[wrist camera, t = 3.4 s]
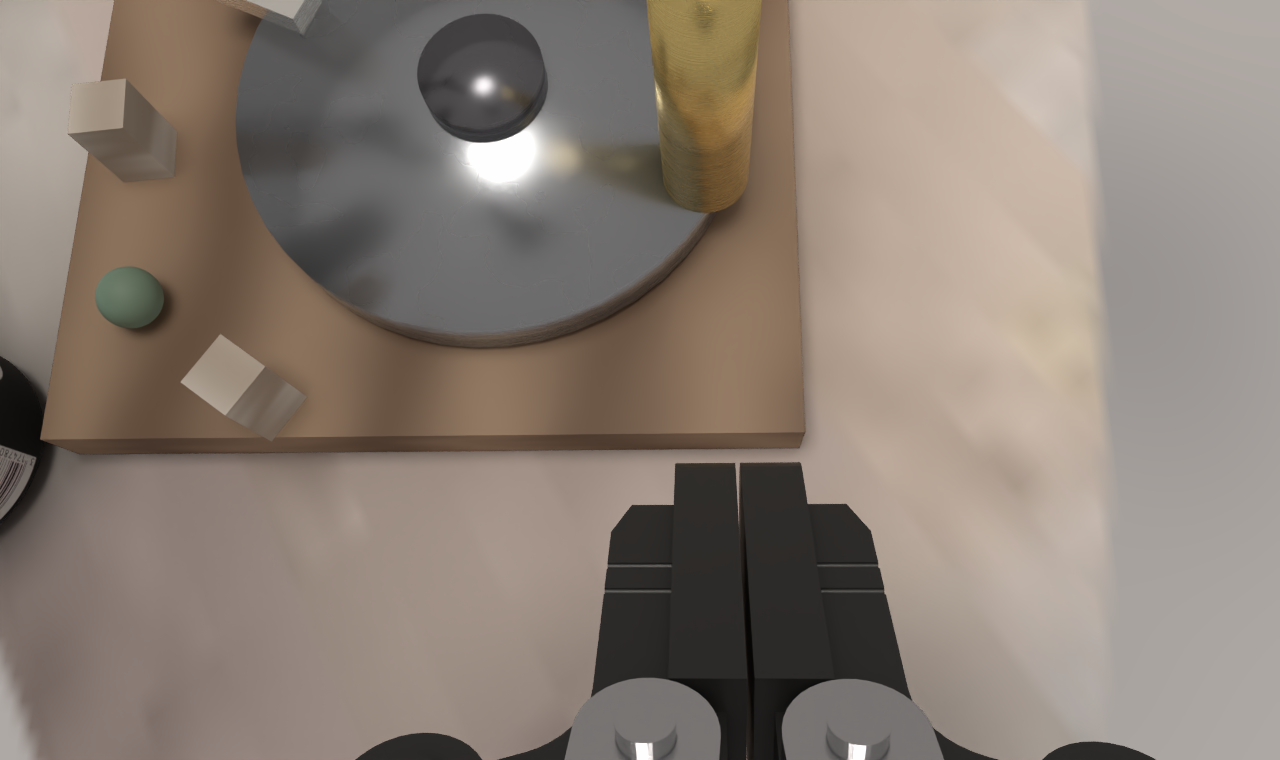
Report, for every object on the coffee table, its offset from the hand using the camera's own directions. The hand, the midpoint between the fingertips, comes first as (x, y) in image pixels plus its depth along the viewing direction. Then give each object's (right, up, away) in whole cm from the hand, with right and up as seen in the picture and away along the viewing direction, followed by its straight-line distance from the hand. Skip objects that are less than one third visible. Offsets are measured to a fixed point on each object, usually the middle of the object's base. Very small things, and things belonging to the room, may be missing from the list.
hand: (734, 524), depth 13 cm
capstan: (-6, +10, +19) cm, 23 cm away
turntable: (-7, +9, +22) cm, 25 cm away
